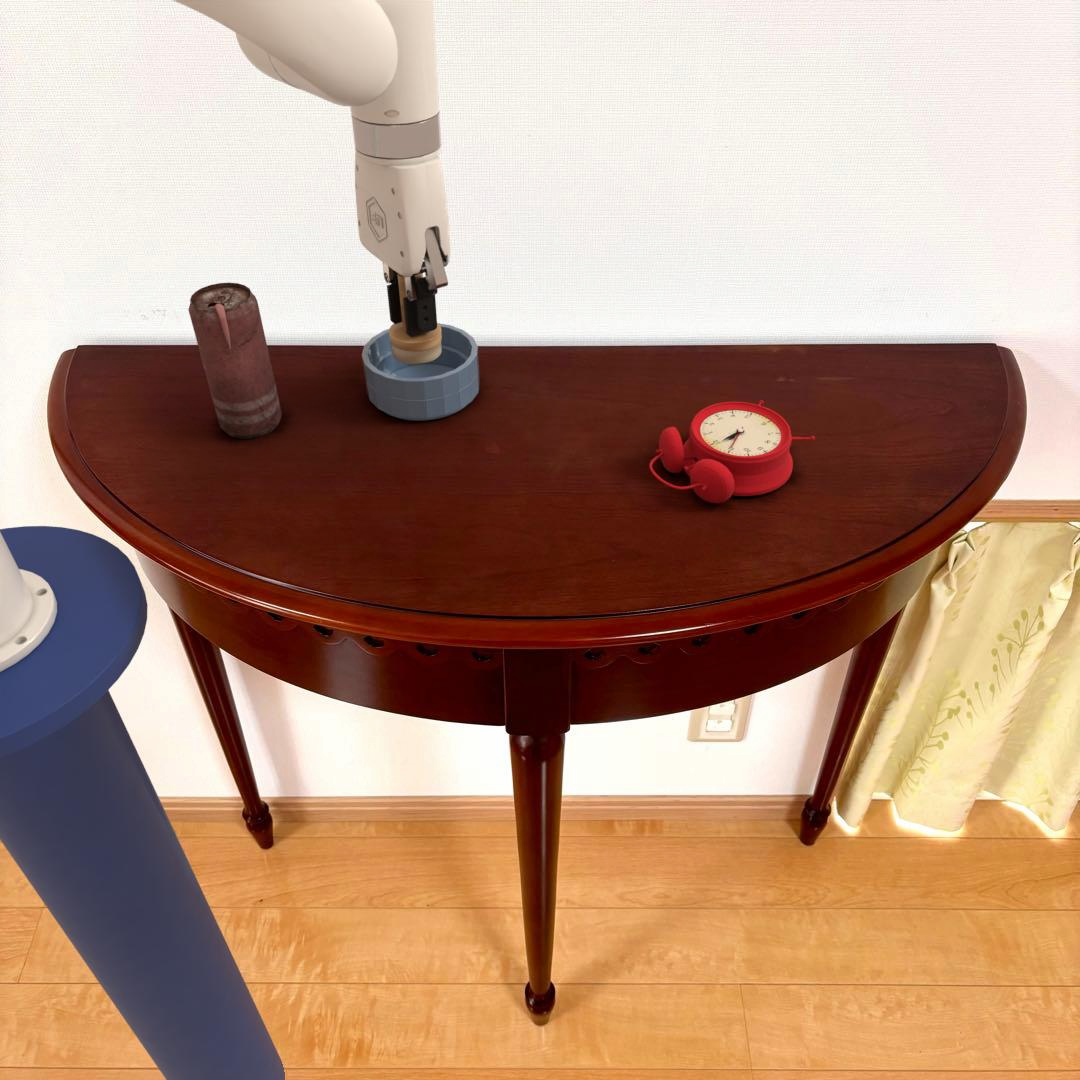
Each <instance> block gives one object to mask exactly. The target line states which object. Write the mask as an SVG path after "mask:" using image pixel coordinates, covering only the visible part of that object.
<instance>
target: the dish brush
mask: <svg viewBox="0 0 1080 1080" xmlns="http://www.w3.org/2000/svg"><path fill="white" fill-rule="evenodd" d="M397 275H398V285H399V295H400V306H401V316H402V322H401V323H398V324H394V323H392V324H391V325H390V327H389V328H388V329H389V339H390V343H391V348H392V355H393V357H394V358H395V359H396V360H398V361H400V362H403V363H407V364H423V363H427V362H430V361H433V360H435V359H436V358H438V357H439V356H440V354H441V352H442V347H441V339H442V333H441V326H440V325H439V324H438V323H439V322H437V328H436V329H435V330H433V331H430V332H427V333H424V334H420V335H417V336H414V337H410V336H409V335H407V333H406V325H405V314H404V303H403V298H405V297H407V294H406V285H405V277H404V276H402V275H400V274H399V273H398V274H397ZM422 277H424V273H421V274H418V275H415V279H416V282H417V280H418V279H419V278H422Z"/></svg>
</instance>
